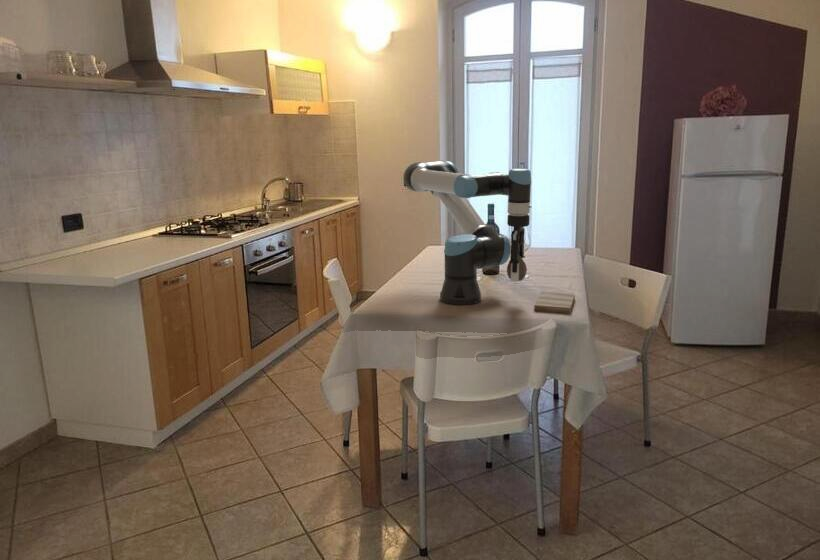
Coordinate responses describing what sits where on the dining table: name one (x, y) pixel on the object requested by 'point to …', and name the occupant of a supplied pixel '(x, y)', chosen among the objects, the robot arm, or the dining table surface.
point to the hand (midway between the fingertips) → (516, 278)
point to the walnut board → (555, 302)
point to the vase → (521, 269)
